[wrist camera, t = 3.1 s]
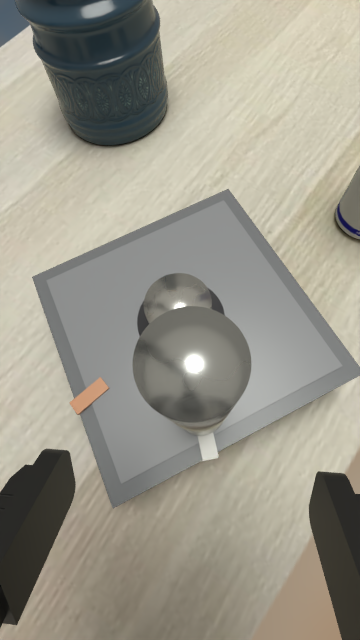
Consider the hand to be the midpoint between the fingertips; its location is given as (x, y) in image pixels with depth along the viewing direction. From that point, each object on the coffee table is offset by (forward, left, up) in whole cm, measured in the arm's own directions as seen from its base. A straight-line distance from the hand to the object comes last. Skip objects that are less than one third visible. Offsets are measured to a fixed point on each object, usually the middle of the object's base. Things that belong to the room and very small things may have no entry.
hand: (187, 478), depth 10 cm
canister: (-40, +9, -15) cm, 44 cm away
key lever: (-6, +3, -9) cm, 12 cm away
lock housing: (-9, +3, -15) cm, 18 cm away
